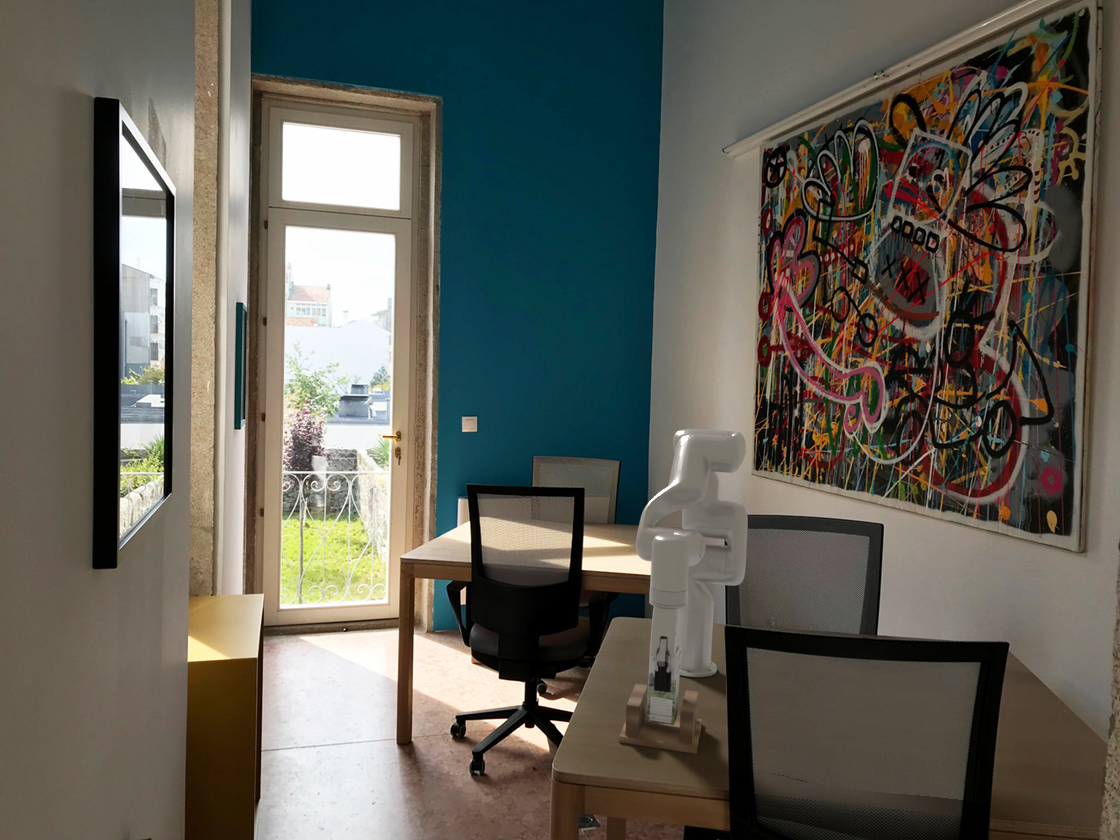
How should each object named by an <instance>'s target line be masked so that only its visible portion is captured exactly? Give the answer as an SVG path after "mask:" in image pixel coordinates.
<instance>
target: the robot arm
mask: <svg viewBox="0 0 1120 840" xmlns="http://www.w3.org/2000/svg"><path fill="white" fill-rule="evenodd" d="M672 445H673V451H674V456H673V460H672V465H671V470H670V476H669V480H668V485H667V486H666V487H665V488H663V489H662V490H661V491H659V492H658V493H657V494H656V495H654V496H653V497H652V499H650V500H649V502H647V504H646V505H645V507H644V508H643V510H642V513H641V515H640V520H639V524H638V528H637V533H636V537H635V550H636V554H637V556H638V557H639V558H640V559H641V560H643V561H646V562H651V563H650V564H651V565H650V581H649V582H650V585H649V599H648V600H649V601H648V602H649V604H650V605H651V606H653V610H652V617H651V618H652V619H651V629H650V630H651V632H650V641H649V642H650V645H649V656H650V655H651V656H653V655H655V654H656V652H657V659H656V670H655V677H654V690H655V691H662V692H670V688H671V672H670V664H671V658H672V657H674V655H675V652H676V649H677V646H680V647H681V662H680V676H683V677H689V678H705V677H706V678H707V677H711V676H713V675H715V674H716V673H717V669H718V666H717V665H716V663H715V662H714V661H712V646H713V645H712V643H713V629H714V628H713V626H714V609H715V608H714V607H715V606H714V603H715V602H714V597H713V595H712V593H711V591H710V590H709V588H708V587H707V585H706V584H713V585H722V586H738V585H741V584H742V583H743V582H744V579H745V575H746V568H747V567H746V565H747V564H746V563H747V544H748V525H749V523H748V521H749V520H748V513H747V512H748V511H747V509H746V507H745V506H744V505H743V504H742V503H740V502H738V501H737V502H736V501H733V500H731V501H730V500H729V501H728V500H721V499H719V486H720V485H719V483H720V482H719V481H720V480H719V477H718V475H717V474H716V473H725V474H728V473H729V474H732V473H735V472H737V471H738V469H739V468H740V467H741V465H743V462H744V460H745V457H746V452H747V451H746V450H747V443H746V439H745V436H744V435H743V433H742V432H740V431H731V430H717V429H706V428H705V429H704V428H685V429H680V430H677V431H676V432H675V433H674V435H673V439H672ZM680 511H682V513H681V525H682V526H681V527H682V528H681V527H680V528H679V527H672V526H671V527H670V526H660V525H656V524H657V523H658V521H660V520H661V519H662V518H663V517H665V516H667V515H670V514H673V513H675V512H680ZM705 539H711V540H712V539H713V540H722V541H725V542H726V544H727V545H726V544H725V545H724V544H723V545H722V544H715V543H714V544H713V543H707V542H706V540H705ZM666 653H669V656H666ZM665 659H668V662H667V661H665Z"/></svg>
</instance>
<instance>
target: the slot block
mask: <svg viewBox="0 0 1120 840" xmlns="http://www.w3.org/2000/svg"><path fill="white" fill-rule="evenodd" d="M647 702H648V684H643V683H635V685H634V686H633V689H632V692H631V694H630V696H629V699H628V701H627V703H626V708H625V709H626V711H625V722H624V724H623V726H622V729H621V732H620V734H619V737H618V738H619V739H618V743H622V744H628V745H634V746H641V747H650V748H654V749H655V748H656V749H661V750H668V751H669V750H670V751H676V752H680V753H689V754H695V755H697V752H698V747H699V741H700V735H701V730H702V726H701V725H702V724H703V719H702V718H698V705H699V704H698V703H699V691H697V690H696V691H695V690H689V689H688V690H687V689H686V690H685V693H684V697H683V701H682V705H681V708H680V712H679V713H680V715H677V718H676V721H675V724H674V725H670V724H663V723H657V722H651V721H647Z"/></svg>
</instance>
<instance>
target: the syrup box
mask: <svg viewBox="0 0 1120 840" xmlns="http://www.w3.org/2000/svg"><path fill="white" fill-rule="evenodd" d="M666 656H669V653H666ZM656 659H657V652H656V654H655V655H653V656H651V655H650V654H649V660H648V661H649V662H648V664H649V665H648V666H649V667H648V683H647V685H648V689H647V710H646V711H647V721H651V722H657V723H663V724H670V725H674V724H675V721H676V718H677V716H679V694H680V692H679V689H680V676H681V675H680V662H681V647H680V646H677V649H676V652H675V655H674V657H672V658H671V664H670V672H671V688H670V692H662V691H655V690H654V677H655V670H656ZM665 661H667V662H668V659H665Z"/></svg>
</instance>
